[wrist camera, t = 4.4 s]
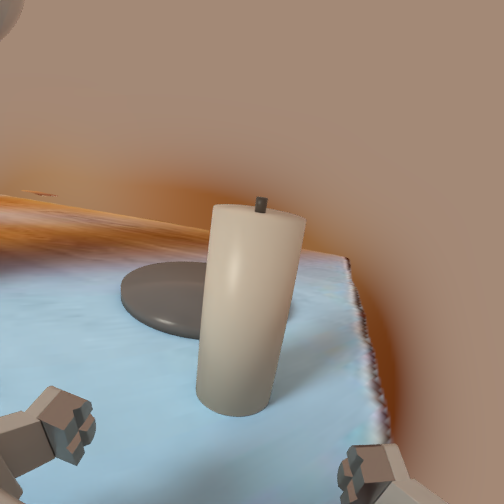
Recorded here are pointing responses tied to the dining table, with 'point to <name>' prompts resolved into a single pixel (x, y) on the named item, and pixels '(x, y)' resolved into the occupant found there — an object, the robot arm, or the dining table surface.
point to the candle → (246, 304)
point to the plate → (167, 296)
